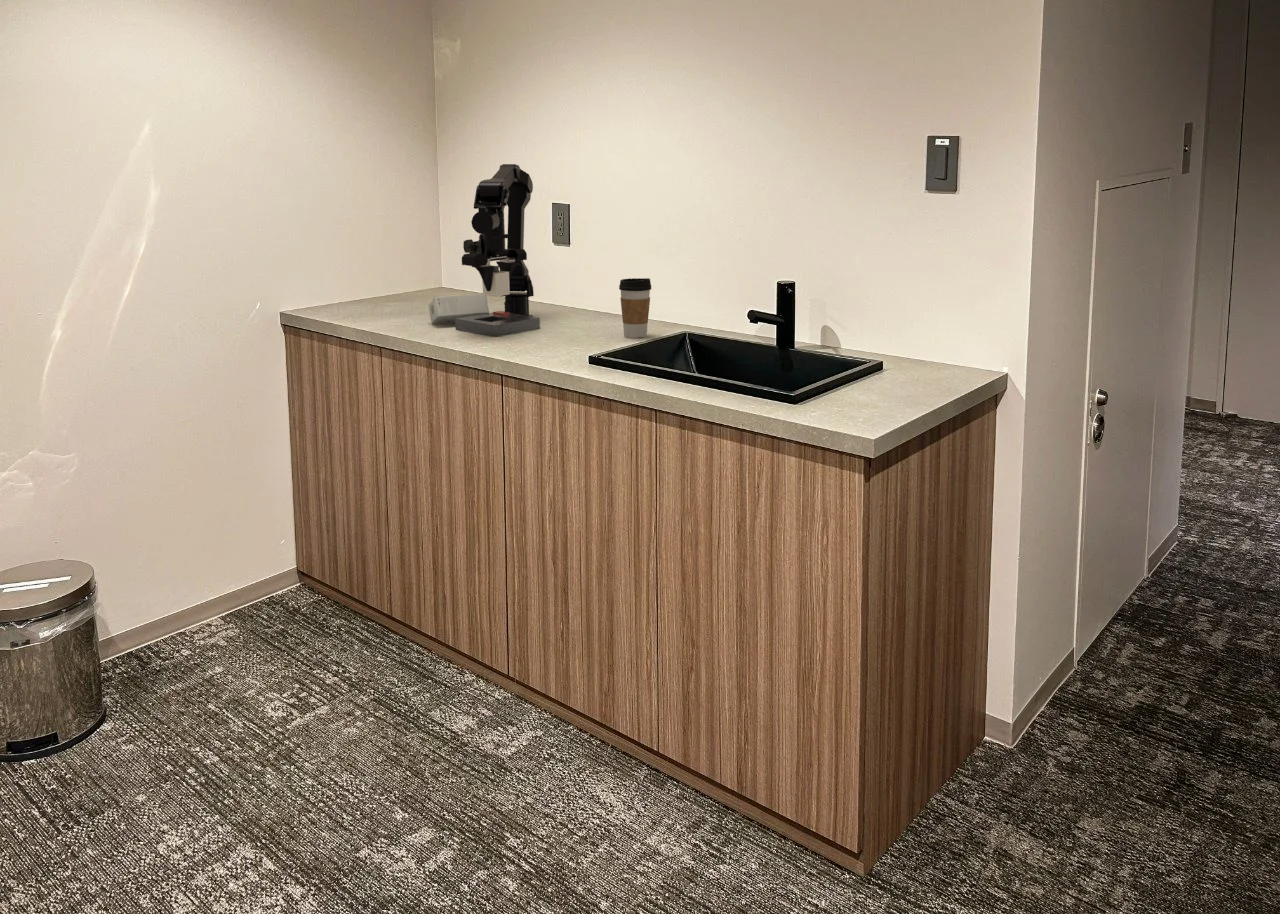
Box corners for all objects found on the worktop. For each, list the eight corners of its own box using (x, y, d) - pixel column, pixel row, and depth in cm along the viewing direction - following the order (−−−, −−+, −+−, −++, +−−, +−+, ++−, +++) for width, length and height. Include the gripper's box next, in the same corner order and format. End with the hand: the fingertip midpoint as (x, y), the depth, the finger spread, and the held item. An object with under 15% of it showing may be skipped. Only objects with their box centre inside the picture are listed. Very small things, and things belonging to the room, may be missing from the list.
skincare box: (436, 316, 314) (490, 313, 320) (433, 295, 315) (487, 292, 321) (430, 324, 322) (482, 321, 328) (427, 303, 323) (479, 300, 328)
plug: (496, 292, 312) (495, 264, 310) (509, 294, 309) (508, 266, 307) (483, 294, 309) (481, 266, 306) (496, 296, 305) (494, 267, 303)
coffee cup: (640, 340, 298) (640, 281, 293) (613, 337, 302) (612, 279, 298) (657, 335, 304) (657, 277, 300) (630, 332, 309) (630, 275, 304)
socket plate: (499, 322, 324) (499, 309, 323) (539, 328, 314) (539, 315, 313) (455, 329, 313) (454, 316, 312) (495, 336, 303) (495, 323, 302)
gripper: (498, 225, 316) (500, 283, 320) (446, 231, 302) (449, 291, 307) (527, 228, 309) (529, 286, 314) (475, 234, 295) (477, 295, 300)
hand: (496, 289), depth 309 cm, fingers closed on plug, 5 cm apart
